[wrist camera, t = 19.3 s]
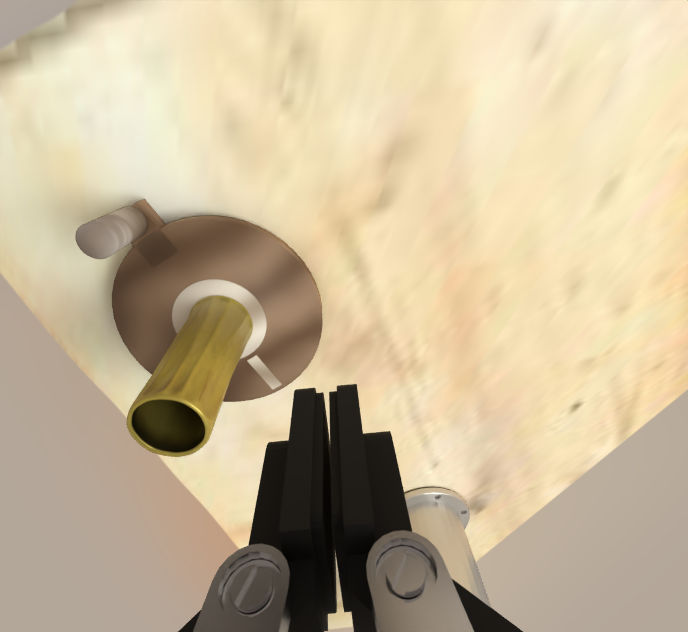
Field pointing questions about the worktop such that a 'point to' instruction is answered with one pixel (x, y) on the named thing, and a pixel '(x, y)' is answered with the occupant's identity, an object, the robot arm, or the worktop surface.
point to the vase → (191, 379)
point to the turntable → (209, 290)
